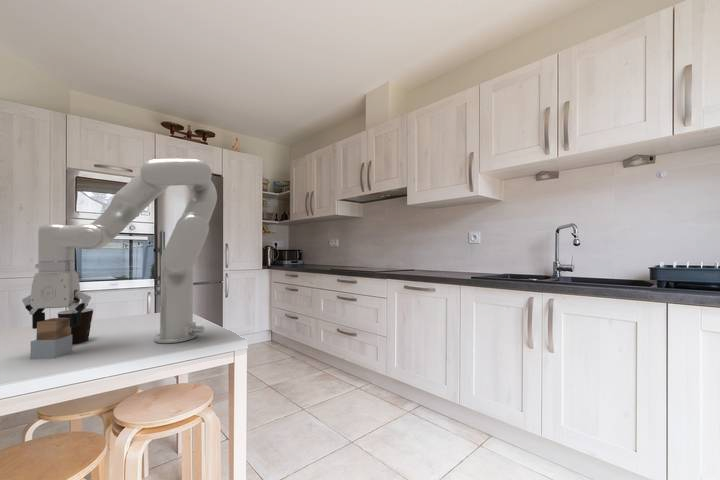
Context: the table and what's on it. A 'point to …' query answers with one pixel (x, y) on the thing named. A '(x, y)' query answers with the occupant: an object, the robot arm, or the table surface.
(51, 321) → the walnut block
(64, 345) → the slate block
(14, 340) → the table surface
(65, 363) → the table surface
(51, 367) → the table surface
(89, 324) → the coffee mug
